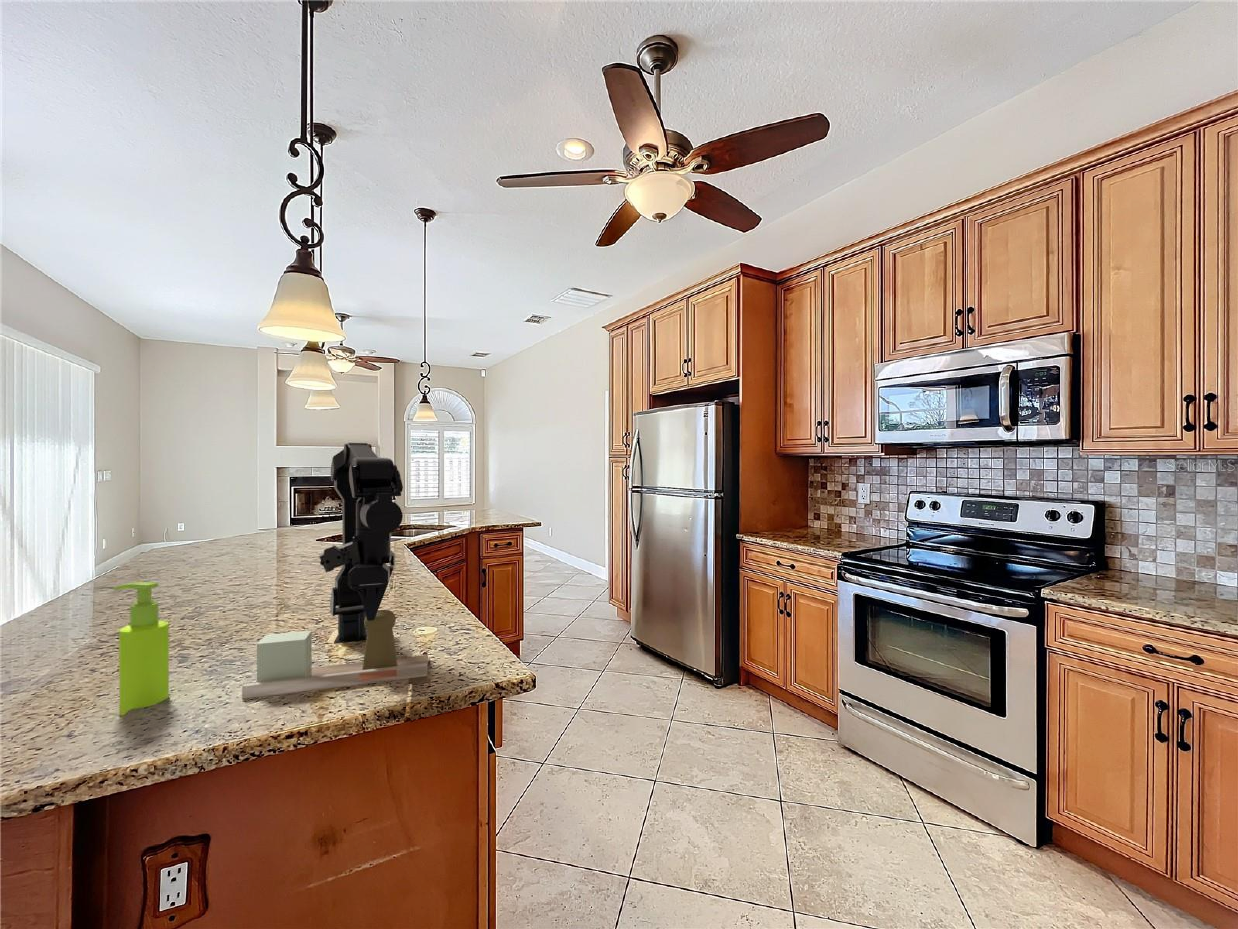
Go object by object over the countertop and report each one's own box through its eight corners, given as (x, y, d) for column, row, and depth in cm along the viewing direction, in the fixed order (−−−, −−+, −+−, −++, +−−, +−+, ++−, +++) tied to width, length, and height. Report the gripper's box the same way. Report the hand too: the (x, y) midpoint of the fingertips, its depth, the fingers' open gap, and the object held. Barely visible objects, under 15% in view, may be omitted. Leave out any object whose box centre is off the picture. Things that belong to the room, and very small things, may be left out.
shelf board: (263, 679, 96) (262, 662, 96) (427, 661, 105) (427, 644, 105) (242, 706, 86) (242, 686, 86) (427, 682, 95) (427, 664, 95)
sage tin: (266, 680, 93) (265, 634, 93) (311, 675, 95) (311, 630, 95) (256, 692, 88) (256, 644, 88) (305, 686, 90) (305, 639, 90)
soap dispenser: (133, 700, 88) (132, 579, 88) (177, 699, 88) (177, 578, 88) (101, 717, 82) (101, 587, 82) (149, 716, 82) (149, 586, 82)
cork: (353, 677, 94) (354, 615, 94) (375, 664, 100) (375, 606, 100) (384, 680, 93) (384, 617, 93) (404, 667, 99) (404, 607, 99)
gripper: (332, 523, 103) (332, 603, 103) (312, 536, 85) (312, 633, 86) (395, 521, 107) (395, 599, 107) (388, 533, 89) (388, 626, 89)
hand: (373, 613), depth 97 cm, fingers open, 9 cm apart
